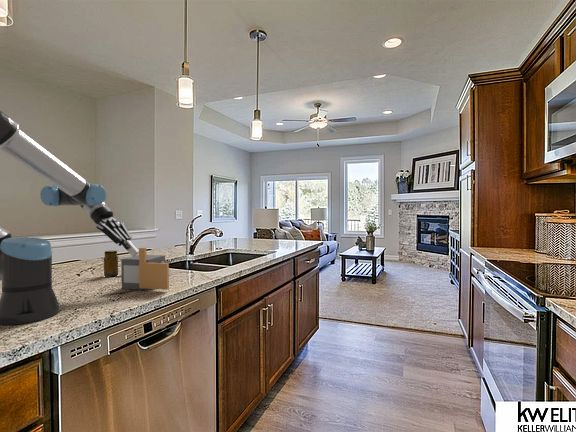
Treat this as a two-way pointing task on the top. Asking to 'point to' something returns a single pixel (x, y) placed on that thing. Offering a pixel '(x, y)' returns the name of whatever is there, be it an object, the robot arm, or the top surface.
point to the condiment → (111, 264)
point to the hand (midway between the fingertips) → (136, 254)
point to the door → (152, 273)
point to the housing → (136, 270)
